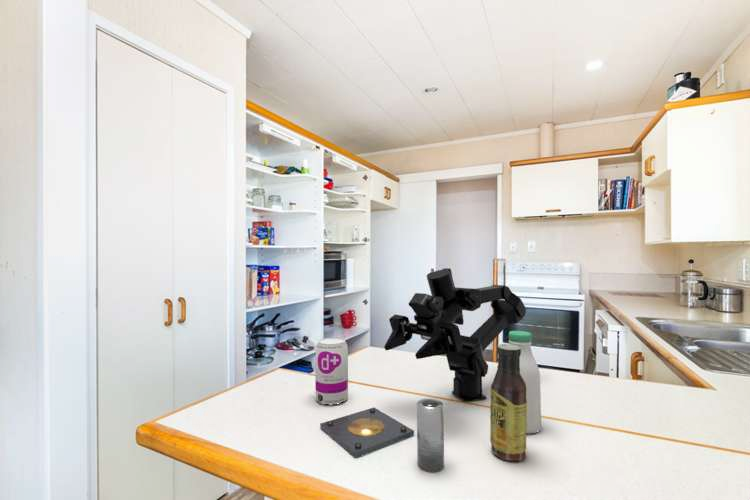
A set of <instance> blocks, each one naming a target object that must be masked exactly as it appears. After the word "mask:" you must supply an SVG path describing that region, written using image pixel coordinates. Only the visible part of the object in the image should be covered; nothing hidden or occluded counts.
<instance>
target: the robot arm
mask: <svg viewBox="0 0 750 500" xmlns="http://www.w3.org/2000/svg"><path fill="white" fill-rule="evenodd" d="M426 279H427V283H428V286H429V287H428V288H429V291H430V294H431V295H430V294H428V293H419V292H415V293H414V295H413V296H412V297H411V299H410V300H409V302H408V306H409V307H410V308H411V309H412V310H413V312H414V314H415V315H414V316H413V319H414V321H415V322H416V323H414V322H411V321H410V319H409V317H408V316H405V315H399V314H393V316H391V317H390V318H389V319H388V321H389V324H390V328H391V333H390V335H389V337H388V339H387V340H386V342H385V344H384V346H383V347H384V350H385V351H389V350H393V349H396V348H398V347H400V346H404V345H406V344H407V342H408V341H411V339H412V338H413V334H414V335H419V336H420V338H421V340H424V341H426V342H425V343H424V344H423V345H422V346H421V347H420V348H418V350H417V352H416V353H415V355H414V356H415V358H416V360H419V359H420V360H421V359H425V358H430V357H436V356H442V355H446V360H447V364H448V368H449V371H451V372H452V371H453V372H454V377H453V383H452V384H453V390H451V394H453V395H454V396H455V397H457V398H458V399H460V400H461V401H463V402H465V403H466V402H472V401H473V402H474V401H479V400H485V399H487V396H486V395H484V394H483V378H485V377H486V376H487V375H488V371H489V365H488V363H487V362H486V360H485V359H484V357H485V356H484V351H485V350H486V349H487V347H490V346H489V345H491V344H492V343H493V341H494V340H495V339H496V338H497V337H498V336H499V335H500V334H501V333H502V332H503V330H505V329H506V327H508V326H512V325H515V324H518V323H519V322H520V321H522V320H523V319H524V317H525V316H526V312H527V309H526V306H525V304H524V302H523V300H522V299H521V298H520V297H519V296H518V295H517V294H515V293H513V292H512V290H511V289H510V287H509V286H507V285H505V284H504V285H500V284H499V285H498V284H492V285H490V286H484V287H477V288H471V287H470V288H469V287H456V286H455V283H454V279H453V273H452V268H450V267H449V268H448V267H447V268H446V267H445V268H443V269H442V268H441V270H440V269H438V270H435V271H433V272H429V273H428V274H427V275H426ZM486 303H490V307H491V308H492V314H491V315H490V316H489V318H488V319H486V320H485V322H483V323H482V324H481V325H480V326H479V327H478V328H477V329H476V330H475V331H474V332H473V333H472V334H471V335H470V336H467V335H461V332H460V327H459V326H458V325H460V326H464V314H463V311H465V312H466V311H468V312H474V311H476V310H478V309H479V308H481V306H482V304H486Z"/></svg>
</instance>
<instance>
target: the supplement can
mask: <svg viewBox="0 0 750 500" xmlns="http://www.w3.org/2000/svg"><path fill="white" fill-rule="evenodd" d="M314 374H315V400H316V401H317V402H318V401H319V402H320V403H323V404H337V403H341V402H343V401H344V402H346V400H348V397H349V346H348V344H347V341H346V339H345V338H340V337H326V338H320V339H319V340H318V341H317V343H316V346H315V373H314ZM319 402H318V403H319ZM344 402H343V403H344ZM320 403H319V404H320ZM323 404H322V405H323ZM341 404H342V403H341Z"/></svg>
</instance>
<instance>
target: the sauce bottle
mask: <svg viewBox="0 0 750 500" xmlns="http://www.w3.org/2000/svg"><path fill="white" fill-rule="evenodd" d="M496 349H497V350H496V352H497V369H496V372H495V374H494V378H493V381H492V383H491V385H490V411H489V412H490V414H489V415H490V416H489V417H490V420H489V421H490V425H489V426H490V428H489V429H490V431H489V432H490V437H489V440H490V446H491V447H490V449H491V452H492V453H493V454H494V455H495V456H497V457H498V458H500V459H501V460H503V461H508V462H509V461H510V462H518V461H522V460H523V459H525V457H526V455H527V453H526V451H527V434H526V427H527V400H526V384H525V382H524V380H523V378H522V376H521V375H520V365H519V364H520V355H521V348H520V347H519V346H517V345H512V344H510V343H501V344H498V345H497V347H496Z"/></svg>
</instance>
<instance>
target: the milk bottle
mask: <svg viewBox="0 0 750 500" xmlns="http://www.w3.org/2000/svg"><path fill="white" fill-rule="evenodd" d="M532 336H533V335H532V333H531V332H529V331H524V330H510V331H509V332H508V343H509V344H512V345H517V346H519V347H520V348H521V355H520V364H519V365H520V375H521V376H522V378H523V380H524V382H525V384H526V400H527V427H526V433H533V434H536V433H535V432H537V431H538V432H540V430H541V428H542V405H541V404H542V403H541V402H542V399H541V398H542V396H541V395H542V393H541V392H542V391H541V374H540V369H539V366H538V363H537V360H536V358H535V356H534V354H533V352H532V347H531V345H532V340H533V337H532ZM538 432H537V433H538Z"/></svg>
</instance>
